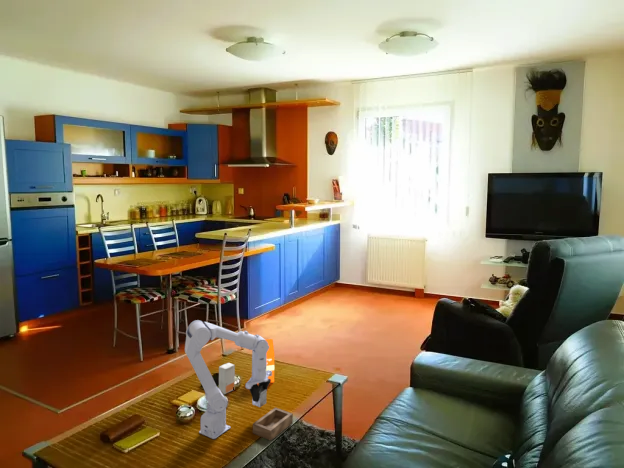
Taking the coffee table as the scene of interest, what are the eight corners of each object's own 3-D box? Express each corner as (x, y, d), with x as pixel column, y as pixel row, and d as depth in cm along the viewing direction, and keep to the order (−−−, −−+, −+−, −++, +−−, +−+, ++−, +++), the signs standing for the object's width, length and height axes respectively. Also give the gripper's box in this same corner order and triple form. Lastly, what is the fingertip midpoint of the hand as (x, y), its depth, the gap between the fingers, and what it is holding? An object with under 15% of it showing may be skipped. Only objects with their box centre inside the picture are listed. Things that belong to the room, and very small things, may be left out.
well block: (270, 440, 175) (270, 430, 174) (252, 433, 179) (252, 423, 179) (292, 423, 187) (292, 413, 187) (275, 416, 192) (275, 407, 191)
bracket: (260, 407, 186) (260, 390, 184) (252, 404, 188) (252, 387, 187) (266, 403, 189) (266, 386, 188) (258, 400, 191) (258, 383, 190)
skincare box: (225, 394, 209) (224, 369, 207) (218, 391, 211) (218, 366, 210) (235, 389, 214) (235, 364, 212) (228, 386, 216) (228, 362, 214)
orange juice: (252, 377, 227) (253, 337, 224) (270, 375, 229) (271, 335, 226) (255, 384, 219) (256, 343, 216) (274, 382, 222) (274, 341, 219)
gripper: (255, 375, 178) (255, 409, 180) (278, 362, 190) (277, 394, 192) (241, 371, 181) (241, 404, 183) (264, 358, 194) (264, 389, 196)
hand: (259, 398), depth 188 cm, fingers closed on bracket, 4 cm apart
